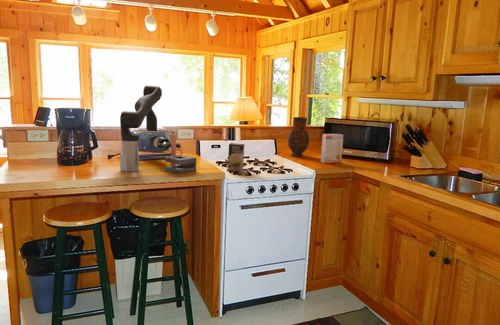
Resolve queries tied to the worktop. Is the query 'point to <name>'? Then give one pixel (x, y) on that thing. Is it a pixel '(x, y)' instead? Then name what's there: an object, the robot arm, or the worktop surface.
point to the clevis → (181, 164)
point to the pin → (173, 146)
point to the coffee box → (235, 157)
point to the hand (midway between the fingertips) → (173, 147)
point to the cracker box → (331, 148)
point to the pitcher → (298, 137)
